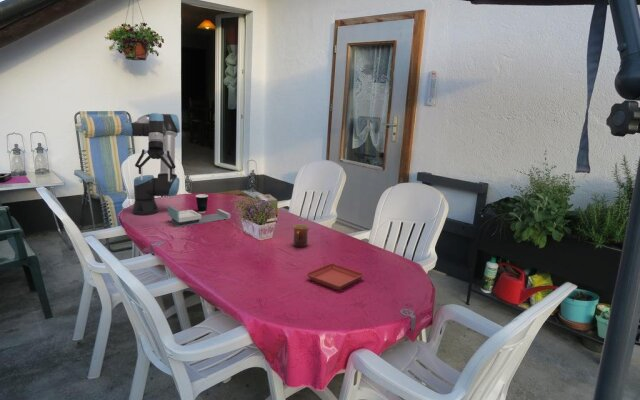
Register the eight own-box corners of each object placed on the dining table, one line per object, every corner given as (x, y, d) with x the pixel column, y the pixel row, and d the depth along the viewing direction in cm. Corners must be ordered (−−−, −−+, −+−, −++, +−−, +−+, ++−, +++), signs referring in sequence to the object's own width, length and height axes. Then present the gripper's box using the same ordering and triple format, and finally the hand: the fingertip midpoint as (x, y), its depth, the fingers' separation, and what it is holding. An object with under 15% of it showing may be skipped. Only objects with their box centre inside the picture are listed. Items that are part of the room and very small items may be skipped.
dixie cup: (202, 214, 275) (201, 197, 272) (193, 212, 279) (192, 195, 276) (211, 211, 282) (210, 195, 279) (202, 209, 285) (201, 193, 283)
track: (167, 221, 257) (167, 216, 256) (220, 213, 279) (219, 209, 278) (177, 227, 247) (177, 222, 246) (230, 218, 268) (230, 214, 268)
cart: (168, 220, 257) (167, 205, 255) (191, 216, 266) (191, 202, 264) (177, 225, 247) (176, 210, 245) (201, 222, 256) (201, 207, 254)
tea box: (254, 217, 273) (254, 194, 270) (270, 216, 277) (270, 193, 274) (262, 224, 260) (262, 200, 257) (277, 222, 264) (278, 199, 261)
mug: (294, 241, 231) (294, 223, 228) (310, 243, 229) (311, 225, 227) (288, 249, 219) (288, 230, 217) (305, 251, 218) (305, 231, 215)
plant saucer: (331, 269, 197) (331, 262, 197) (364, 280, 186) (364, 273, 186) (305, 280, 184) (305, 273, 183) (339, 294, 173) (339, 286, 172)
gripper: (130, 138, 225) (129, 178, 222) (180, 141, 235) (180, 180, 232) (130, 142, 232) (129, 181, 229) (179, 145, 242) (179, 182, 239)
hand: (155, 180), depth 231 cm, fingers open, 13 cm apart
